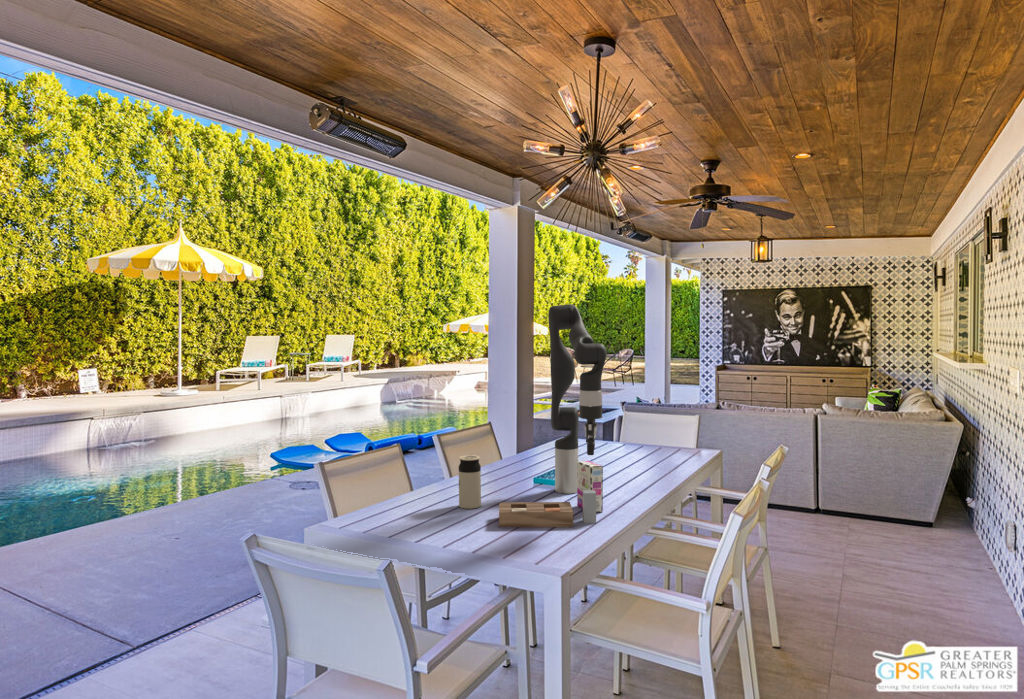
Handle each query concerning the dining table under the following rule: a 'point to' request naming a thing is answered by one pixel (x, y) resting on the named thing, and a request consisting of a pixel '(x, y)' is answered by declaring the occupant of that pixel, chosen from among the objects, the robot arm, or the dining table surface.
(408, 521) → the dining table surface
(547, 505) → the socket block
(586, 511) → the plug
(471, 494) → the travel mug
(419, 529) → the dining table surface
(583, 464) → the candy bar box
